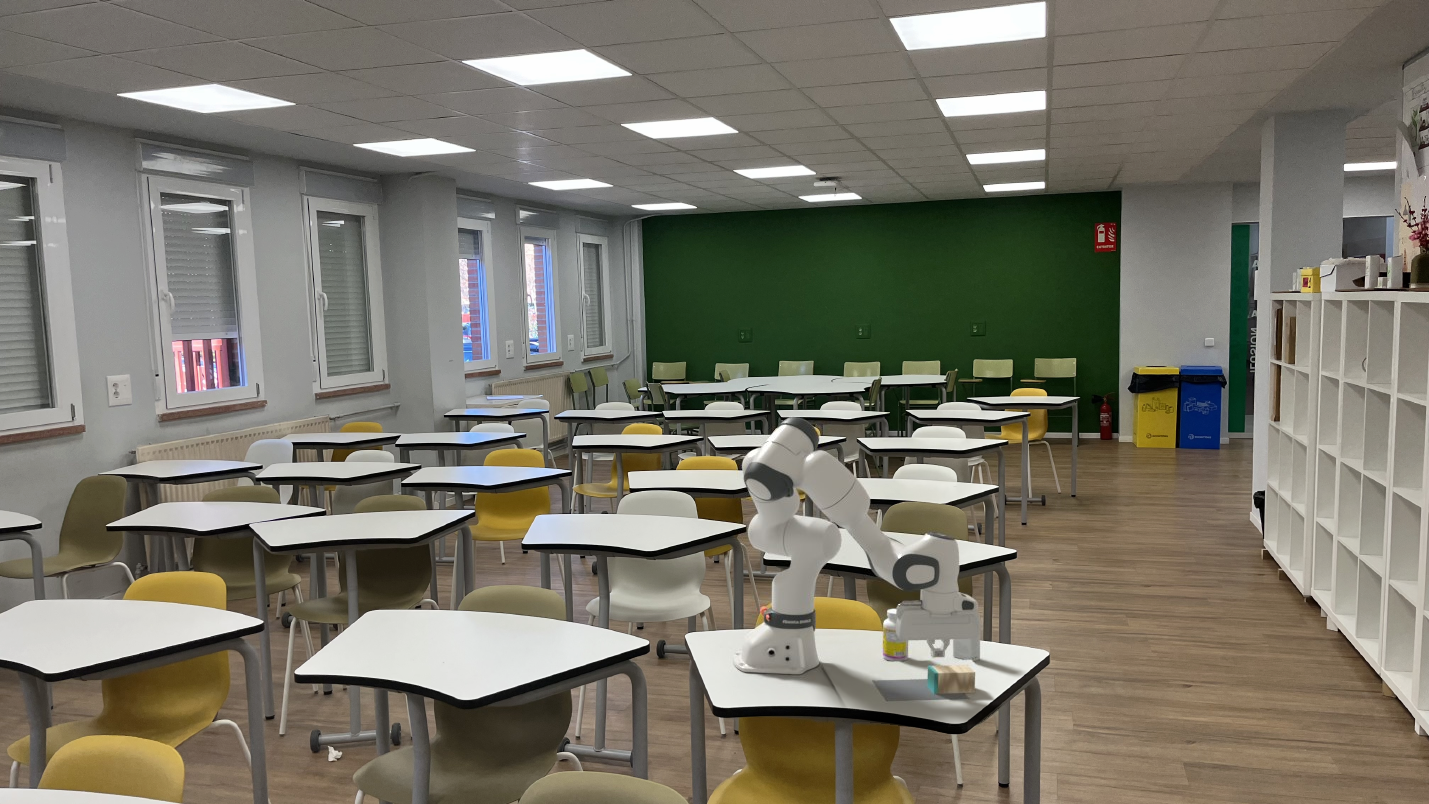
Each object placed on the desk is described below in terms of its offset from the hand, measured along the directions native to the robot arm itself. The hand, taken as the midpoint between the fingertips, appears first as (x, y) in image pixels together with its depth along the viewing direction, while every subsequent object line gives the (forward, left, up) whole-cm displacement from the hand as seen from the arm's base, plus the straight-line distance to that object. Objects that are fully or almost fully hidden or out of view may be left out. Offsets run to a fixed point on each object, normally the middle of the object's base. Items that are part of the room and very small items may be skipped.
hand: (937, 656), depth 232 cm
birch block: (-2, 0, -6) cm, 6 cm away
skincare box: (+16, +24, -9) cm, 30 cm away
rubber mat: (-4, +1, -9) cm, 10 cm away
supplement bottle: (-3, +25, -9) cm, 27 cm away
